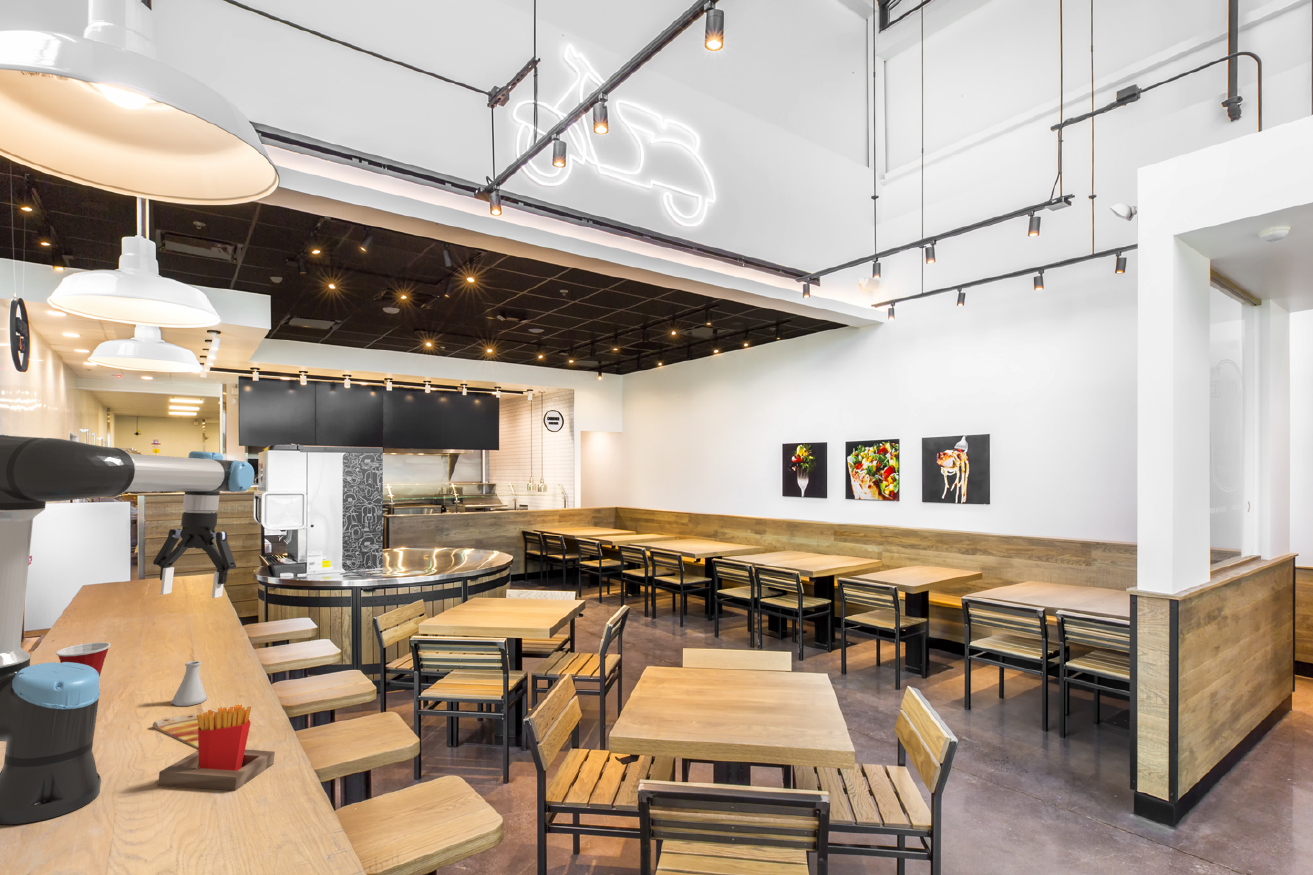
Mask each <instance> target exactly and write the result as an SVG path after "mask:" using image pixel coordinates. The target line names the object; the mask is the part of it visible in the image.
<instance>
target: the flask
mask: <svg viewBox="0 0 1313 875" xmlns="http://www.w3.org/2000/svg"><path fill="white" fill-rule="evenodd" d="M184 665H185V672H184V673H185V674H184V675H183V678H182V681H181V683H180V684H179V687H178V689H177V691H176V693H175V694H174V696H173V698H172V700H171V701H170V703H171V704H172V705H174V706H178V707H179V706H181V707H188V706H189V707H190V706H193V705H199V704H201V703H204V702H205V701H207V700H208V697H207V694H206V691H205V689H204V686H203V683H202V679H201V674H200V665H202V661H199V660H192V661H188V662H185V664H184Z"/></svg>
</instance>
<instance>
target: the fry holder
mask: <svg viewBox="0 0 1313 875" xmlns="http://www.w3.org/2000/svg"><path fill="white" fill-rule="evenodd" d="M275 752H276V751H271V750H257V749H246V748H245V752H244V757H243V762H242V767H241V769H239V770H238V771H233V770H218V769H204V768H199V754H198V750H196V751H195V752H193V753H191V754H189V755H187V756H186V757H183V758H181V759H179V760H178V761H177V762H174V763H172V764H170V765H169V766H167V767H165V768H164V769H162V770H160V771H159V774H158V783H157V786H162V787H164V786H165V787H178V788H191V789H207V790H221V791H223V790H224V791H237V790H238V789H239V788H241V787H242V786H244V785H245V784H247V783H249V782H250V781H252V779H254V778H255V777H257V776H258V775H261V773H262V772H264V771H265V770H267V769H268V768H270V767H272V766H273V765H274V764H275V763H274V762H275Z"/></svg>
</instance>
